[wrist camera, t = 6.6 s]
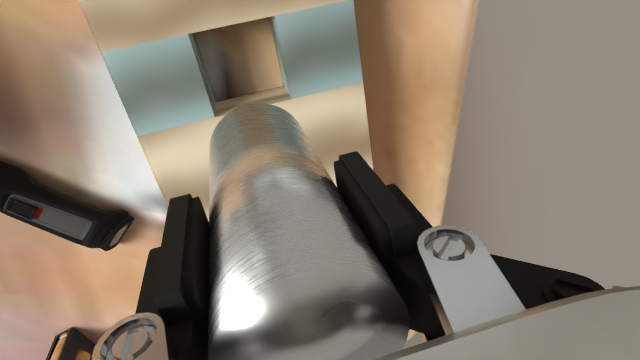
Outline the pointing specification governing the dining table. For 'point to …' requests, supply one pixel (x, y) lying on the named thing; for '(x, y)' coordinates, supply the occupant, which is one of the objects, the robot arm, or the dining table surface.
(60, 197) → the electric trimmer
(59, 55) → the dining table surface
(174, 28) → the dock board
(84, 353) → the ammunition clip
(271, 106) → the peg
